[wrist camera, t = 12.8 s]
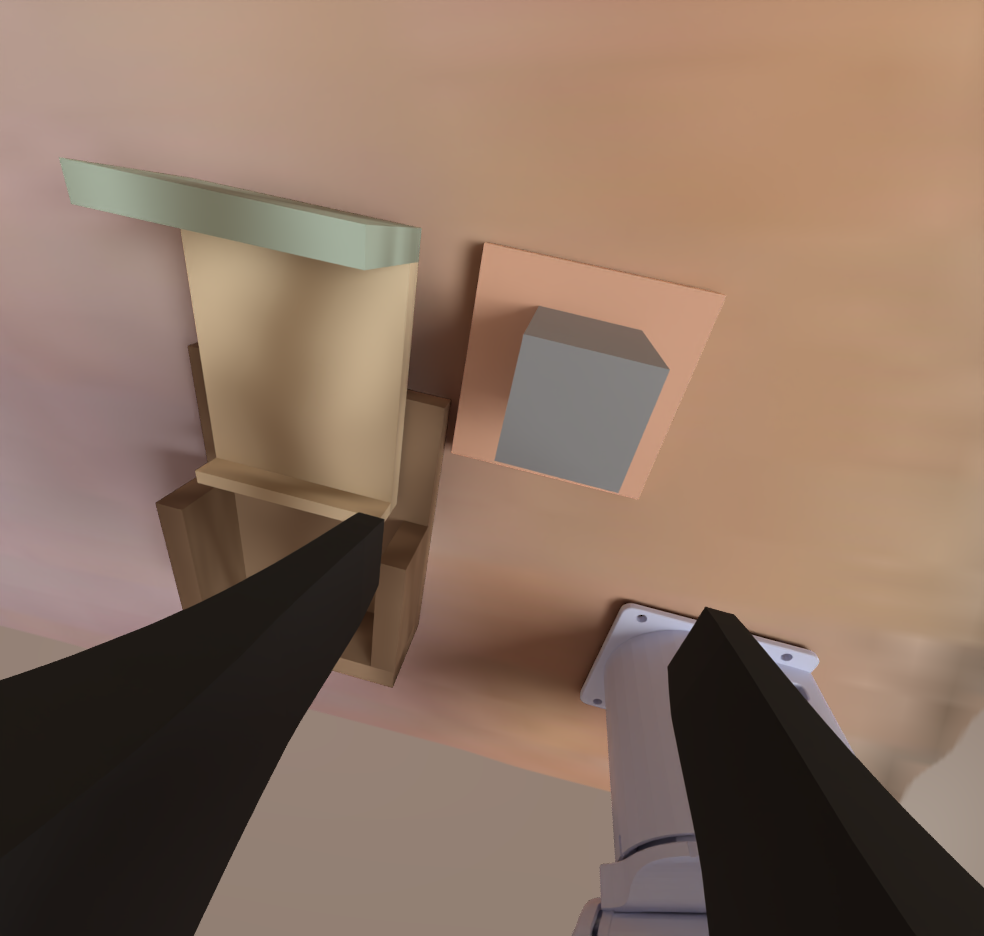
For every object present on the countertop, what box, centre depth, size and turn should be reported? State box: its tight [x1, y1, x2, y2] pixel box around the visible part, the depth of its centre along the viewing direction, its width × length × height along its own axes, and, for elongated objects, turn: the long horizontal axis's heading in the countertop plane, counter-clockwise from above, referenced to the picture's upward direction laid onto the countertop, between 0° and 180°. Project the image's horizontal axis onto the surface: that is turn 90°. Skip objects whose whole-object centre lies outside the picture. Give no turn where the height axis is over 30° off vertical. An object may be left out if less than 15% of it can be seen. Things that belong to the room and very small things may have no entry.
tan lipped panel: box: [59, 157, 421, 522], centre depth 15 cm, size 8×11×4 cm
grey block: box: [494, 306, 670, 493], centre depth 13 cm, size 4×4×5 cm
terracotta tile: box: [451, 242, 727, 500], centre depth 16 cm, size 8×8×1 cm
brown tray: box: [156, 343, 451, 688], centre depth 20 cm, size 11×14×4 cm
